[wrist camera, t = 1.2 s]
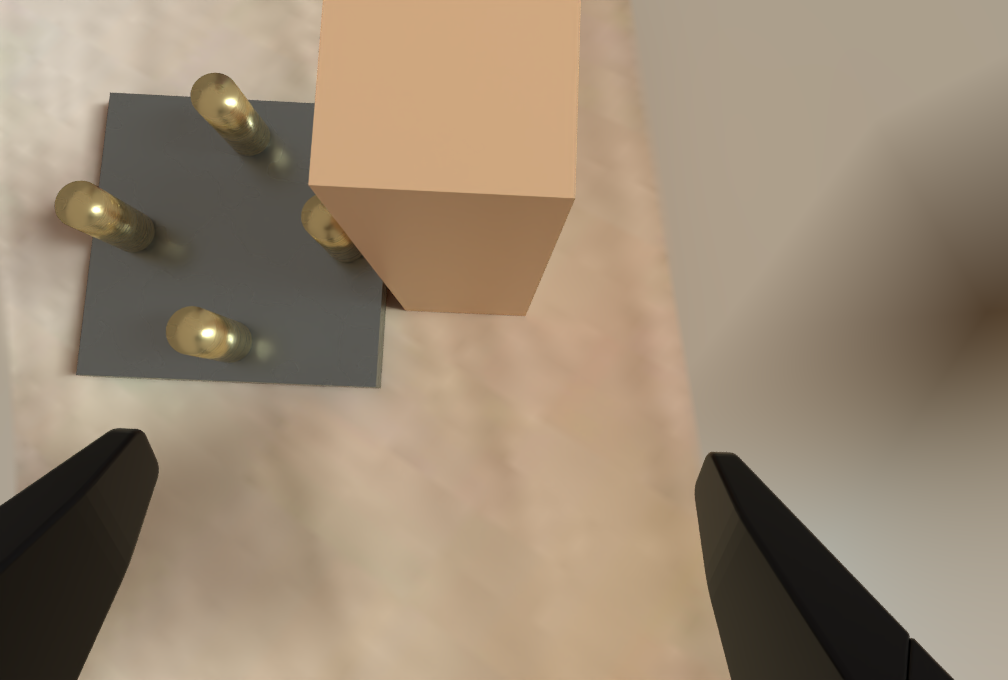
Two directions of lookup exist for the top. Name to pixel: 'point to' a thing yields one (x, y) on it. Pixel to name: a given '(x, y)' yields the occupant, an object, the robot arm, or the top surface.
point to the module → (449, 143)
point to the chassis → (219, 249)
